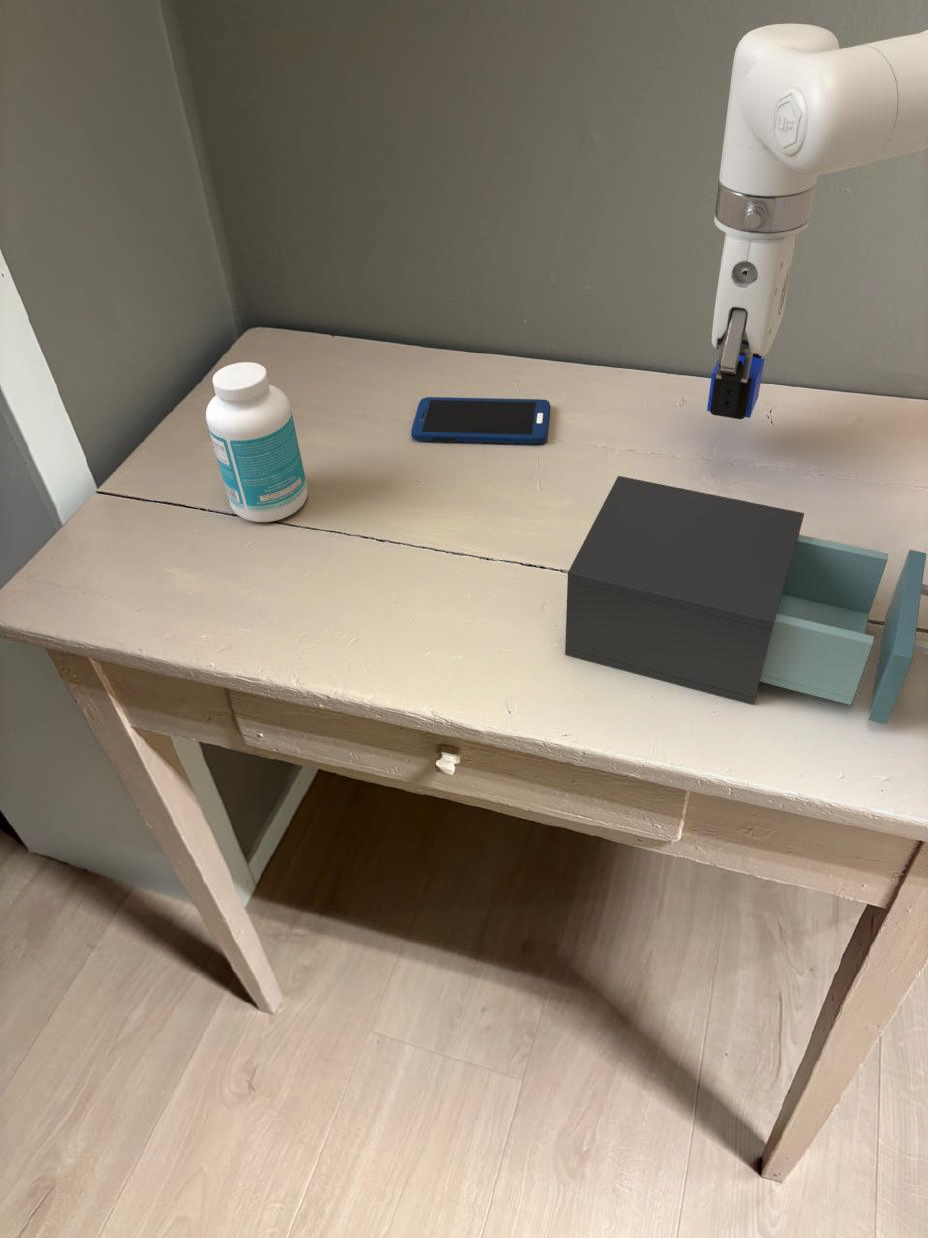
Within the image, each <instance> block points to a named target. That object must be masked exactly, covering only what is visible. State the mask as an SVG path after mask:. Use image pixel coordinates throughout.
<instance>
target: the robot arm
mask: <svg viewBox="0 0 928 1238" xmlns="http://www.w3.org/2000/svg"><path fill="white" fill-rule="evenodd" d="M728 94H729V95H728V101H727V111H726V118H725V125H724V134H723V142H722V143H723V144H722V151H721V159H720V160H721V161H720V168H719V177H718V178H719V179H718V185H717V192H716V193H717V194H716V201H715V209H714V218H713V224H714V225H715V227H716V228H717V229H719V231H722V232H723V233H725V234H724V235H725V236H724V240H723V241H724V242H723V247H722V255H721V258H720V267H719V274H718V282H717V288H716V295H715V303H714V312H713V318H712V319H713V320H712V328H711V345H712V347H713V348H714V349H715V350H717V351H718V350H719V354H718V359H719V360H718V359H717V361H718V366H717V372H716V374H715V378H714V386H713V393H712V400H711V408H710V411H709V412H710V413H709V414H711V415H713V416H718V417H724V418H729V419H736V420H743V419H745V418H746V417H745V415H746V411H747V405H748V399H749V393H750V387H751V381H752V378H749V373H750V368H751V362H752V357H755V358H763V356H764V355H766V354H768V353H769V351H770V349H771V348H772V345H773V343H774V341H775V338H776V336H777V333H778V330H779V328H780V326H781V323H782V320H783V317H784V314H785V310H786V304H787V303H786V302H787V297H788V289H789V288H788V287H789V281H790V275H791V268H792V262H793V256H794V249H795V243H796V242H795V240H796V235H799V234H801V233H802V232H804V231H806V230H807V228H808V226H809V223H810V218H811V212H812V206H813V201H814V197H815V191H816V190H815V189H816V185H817V180H818V176H819V175H820V176H821V175H826V174H831V173H835V172H839V171H843V170H844V171H845V170H848V169H851V168H855V167H860V166H864V165H866V164H869V163H873V162H878V161H882V160H886V159H890V158H893V157H897V156H898V157H899V156H902V155H907V154H911V153H916V152H920V151H924V150H926V149H928V29H925V30H924V31H922V32H918V33H914V34H908V35H901V36H897V37H896V36H895V37H892V38H887V39H883V40H878V41H873V42H869V43H868V42H867V43H863V44H858V45H853V46H851V47H849V46H848V47H844V48H843V47H842V48H840V44H839V40H838V38H837V36H836V35H835V34H834V33H833V32H832V31H831V30H828V29H826V28H823V27H821V26H817V25H814V24H806V23H776V24H769V25H764V26H760V27H757V28H755V29H752V30H750V31H749V32H747V33H746V34H745V35H743V36H742V38H741V40H739V42H738V44H737V46H736V48H735V52H734V56H733V62H732V70H731V78H730V86H729V93H728ZM739 355H741V356H745V360H744V365H743V362H742V361H739Z"/></svg>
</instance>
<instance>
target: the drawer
mask: <svg viewBox="0 0 928 1238" xmlns="http://www.w3.org/2000/svg"><path fill="white" fill-rule="evenodd" d="M888 560H889V553H888V552H884V551H880V550H875V549H871V548H865V547H860V546H855V545H852V544H851V545H850V544H846V543H841V542H836V541H832V540H827V539H823V538H817V537H812V536H808V535H804V534H799V535H798V539H797V542H796V546H795V550H794V553H793V557H792V560H791V564H790V567H789V571H788V575H787V578H786V582H785V585H784V589H783V592H782V596H781V600H780V603H779V607H778V610H777V614H776V617H775V621H774V625H773V629H772V633H771V637H770V641H769V645H768V649H767V653H766V657H765V661H764V665H763V669H762V674H761V678H760V683H763V684H768V685H771V686H775V687H778V688H782V689H787V690H791V691H795V692H798V693H802V694H807V695H809V696H814V697H818V698H822V699H826V700H829V701H834V702H836V703H837V702H838V703H842V704H845V705H849V706H851V705H852V704H853V702H854V699H855V696H856V693H857V690H858V688H859V685H860V682H861V680H862V676H863V673H864V671H865V668H866V665H867V662H868V661H869V657H870V654H871V651H872V649H873V645H874V640H875V636H874V635H870V634H866V633H867V628H868V623H869V617H870V614H871V610H872V607H873V605H874V601H875V599H876V595H877V593H878V589H879V587H880V583H881V581H882V577H883V575H884V572H885V569H886V567H887V563H888ZM926 560H927V552H923V551H918V550H915V549H909V550H908V552H907V555H906V557H905V560H904V563H903V566H902V569H901V572H900V574H899V578H898V580H897V583H896V586H895V589H894V591H893V594H892V597H891V600H890V603H889V606H888V607H887V611H886V613H885V618H884V624H883V628H882V629H883V631H882V635H881V642H880V648H879V653H878V660H877V666H876V671H875V678H874V684H873V691H872V696H871V703H870V709H869V712H868V713H869V715H868V721H870V722H874V723H878V724H882V725H887V724H888V721H889V719H890V716H891V713H892V711H893V709H894V706H895V703H896V701H897V699H898V696H899V693H900V691H901V688H902V686H903V683H904V682H905V679H906V676H907V674H908V672H909V669H910V666H911V664H912V661H913V658H914V652H917V653H921V654H925V655H928V641H925V640H921V639H917V638H916V636H917V628H918V619H919V613H920V606H921V597H922V596H924V597H928V584H925V583H924V575H925V567H926Z"/></svg>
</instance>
